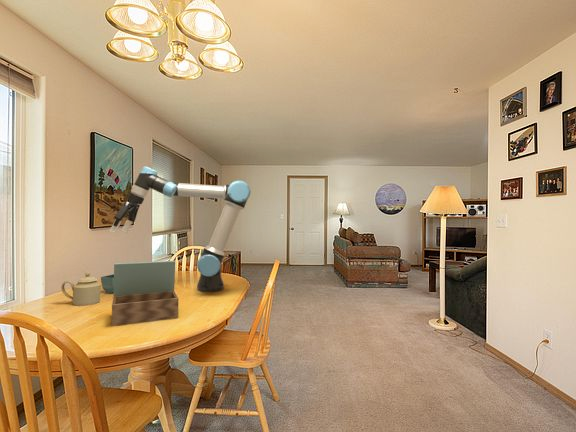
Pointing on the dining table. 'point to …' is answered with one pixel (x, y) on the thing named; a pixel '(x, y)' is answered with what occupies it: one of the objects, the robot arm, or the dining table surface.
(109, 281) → the flower pot
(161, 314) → the walnut box
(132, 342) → the dining table surface
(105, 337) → the dining table surface
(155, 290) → the lid
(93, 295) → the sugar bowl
